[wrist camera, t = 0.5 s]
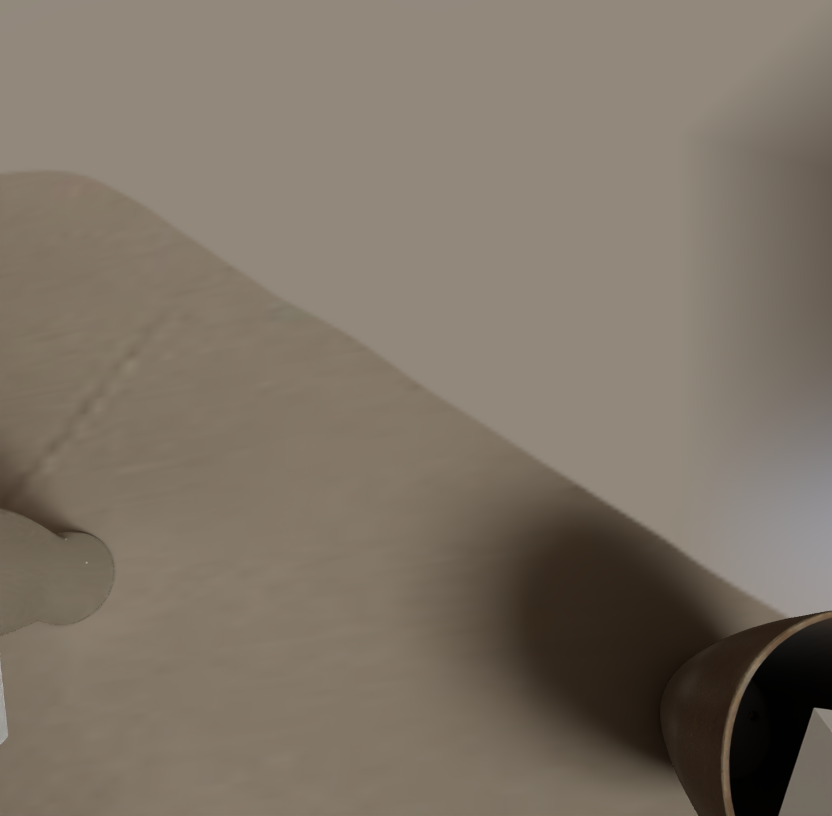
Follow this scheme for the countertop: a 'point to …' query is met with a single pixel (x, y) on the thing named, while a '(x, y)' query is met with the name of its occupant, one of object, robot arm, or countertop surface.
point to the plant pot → (747, 714)
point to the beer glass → (49, 574)
